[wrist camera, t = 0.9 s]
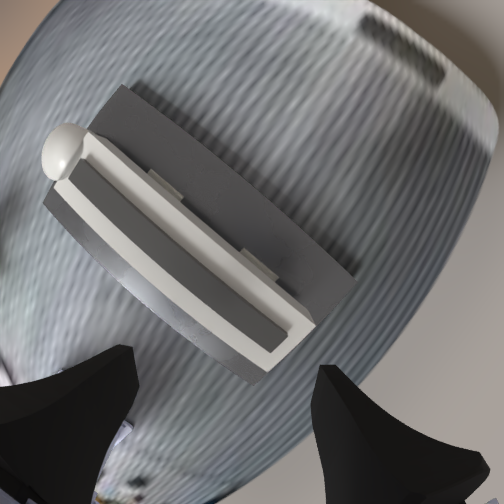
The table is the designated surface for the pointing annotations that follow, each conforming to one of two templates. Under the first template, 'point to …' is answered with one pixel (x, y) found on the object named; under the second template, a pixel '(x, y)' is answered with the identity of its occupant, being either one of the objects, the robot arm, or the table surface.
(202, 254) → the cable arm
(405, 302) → the table surface
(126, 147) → the panel
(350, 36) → the table surface
